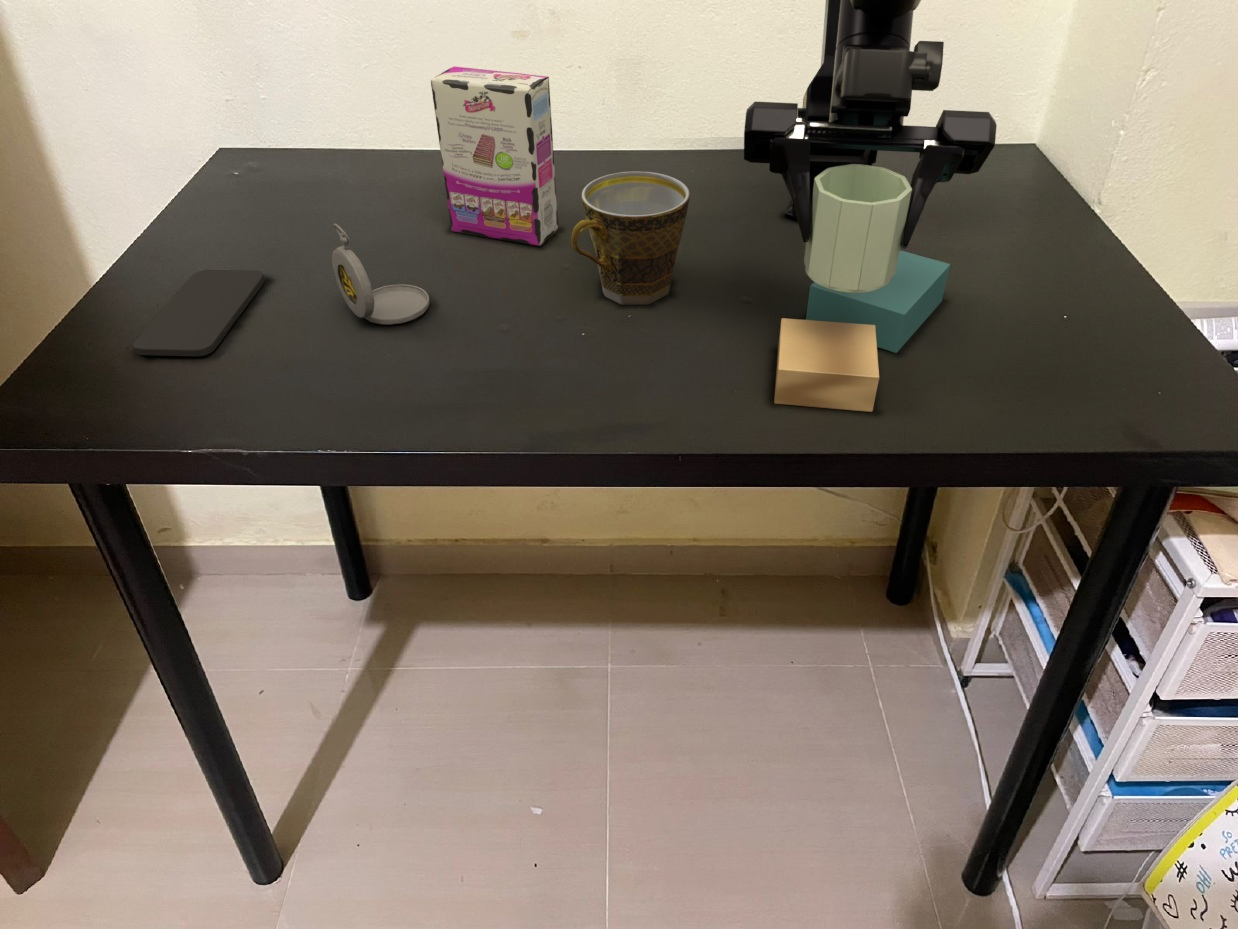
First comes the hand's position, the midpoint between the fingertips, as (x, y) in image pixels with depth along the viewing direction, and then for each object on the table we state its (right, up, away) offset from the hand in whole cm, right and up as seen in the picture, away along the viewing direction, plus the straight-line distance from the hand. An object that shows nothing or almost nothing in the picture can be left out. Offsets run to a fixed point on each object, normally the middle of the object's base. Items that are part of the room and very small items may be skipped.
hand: (854, 243), depth 74 cm
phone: (-58, -3, +17) cm, 61 cm away
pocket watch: (-41, -3, +17) cm, 44 cm away
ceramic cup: (-18, -1, +19) cm, 26 cm away
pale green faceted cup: (0, -2, +3) cm, 3 cm away
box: (+6, -3, +16) cm, 17 cm away
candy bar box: (-31, +8, +30) cm, 44 cm away
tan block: (-1, -10, +7) cm, 12 cm away
